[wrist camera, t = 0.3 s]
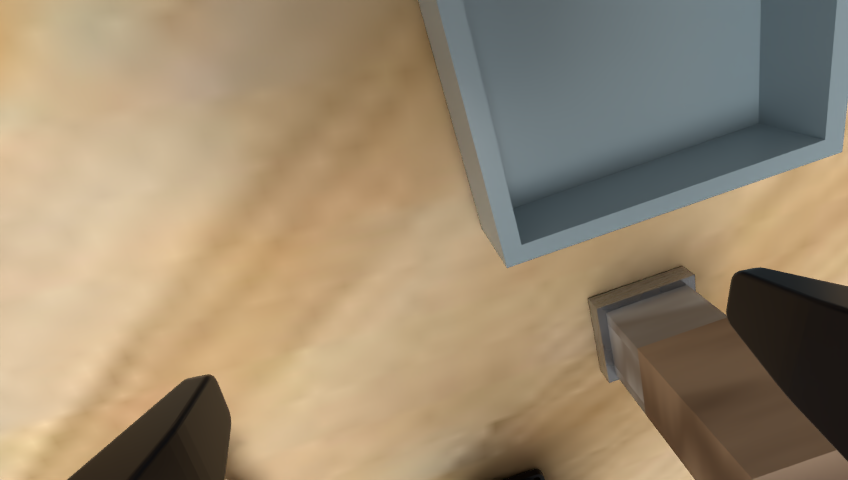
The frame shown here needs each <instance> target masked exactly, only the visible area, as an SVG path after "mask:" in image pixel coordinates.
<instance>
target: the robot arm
mask: <svg viewBox="0 0 848 480" xmlns="http://www.w3.org/2000/svg"><path fill="white" fill-rule="evenodd" d="M726 314H727V318H728V321H729V323H730V325H731V326H732V328H733V329H734V330H735V331H736V333H737V334H738V335H739V337H740V338H741V339H742V340H743V342H744V343H745V344H746V346H747V347H748V348H749V349H750V351H751V352H752V353H753V354H754V356H755V357H756V358H757V360H758V361H759V362H760V363H761V365H762V366H763V367H764V368H765V370H766V371H767V372H768V374H769V375H770V376H771V377H772V379H773V380H774V381H775V383H776V384H777V385H778V386H779V388H780V389H781V390H782V391H783V392H784V394H785V395H786V396H787V397H788V398H789V399H790V401H791V402H792V403H793V404H794V405H795V406H796V407H797V408H798V409H799V410H800V412H801V413H802V414H803V415H804V416H805V417H806V418H807V419H808V420H809V421H810V422H811V423H812V424H813V425H814V426H815V428H816V429H817V430H818V431H819V432H820V433H821V434H822V435H823V436H824V437H825V438H826V439H827V440H828V441H829V442H830V443H831V445H832V446H833V447H834V448H835V449H836V450H837V451H838V452H839V453H840V454H841V455H842V456H843V457H844V458H845V459H846V461H847V462H848V286H844V285H839V284H835V283H830V282H825V281H821V280H816V279H812V278H807V277H803V276H798V275H794V274H789V273H784V272H780V271H775V270H771V269H766V268H752V269H747V270H742V271H738V272H737V273H735V274H734V275H733V277H732V280H731V285H730V291H729V297H728V303H727V309H726ZM230 431H231V416H230V412H229V409H228V407H227V404H226V402H225V399H224V397H223V394H222V392H221V389H220V387H219V385H218V382H217V380H216V379H215V377H214V376H212V375H209V374H208V375H202V376H197V377H192V378H188V379H185V380H184V381H182V382H181V383H180V384H179V385H178V386H176V387H175V388H174V389H173V390H172V391H171V392H169V393H168V394H167V395H166V396H165V397H164V398H162V399H161V400H160V401H159V402H158V403H156V404H155V405H154V406H153V407H152V408H151V409H149V410H148V411H147V412H146V413H145V414H144V415H142V416H141V417H140V418H139V419H138V420H137V421H135V422H134V423H133V424H132V425H131V426H130V427H128V428H127V429H126V430H125V431H124V432H122V433H121V434H120V435H119V436H118V437H117V438H115V439H114V440H113V441H112V442H111V443H110V444H108V445H107V446H106V447H105V448H104V449H103V450H101V451H100V452H99V453H98V454H97V455H96V456H94V457H93V458H92V459H91V460H90V461H88V462H87V463H86V464H85V465H84V466H83V467H81V468H80V469H79V470H78V471H77V472H76V473H74V474H73V475H72V476H71V477H70V478H69V479H67V480H225V472H226V464H227V456H228V447H229V439H230ZM504 480H545V479H544V476H543V474H542V472H541V470H539V469H533V470H530V471H527V472H524V473H521V474H519V475H516V476H513V477H510V478H507V479H504Z"/></svg>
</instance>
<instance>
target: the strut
mask: <svg viewBox="0 0 848 480" xmlns="http://www.w3.org/2000/svg"><path fill="white" fill-rule="evenodd" d="M606 316H607V323H608V329H609V335H610V341H611V348H612V354H613V360H614V367H615V373H616V376H617V377H618V378H619V380H620V381H621V382H622V384H623V385H624V386H625V387H626V389H627V390H628V391H629V393H630V394H631V395H632V397H633V398H634V399H635V401H636V402H637V403H638V405H639V406H640V407H641V409H642V410H643V411H644V413H645V414H646V415H647V417H648V418H649V419H650V421H651V422H652V423H653V425H654V426H655V427H656V429H657V430H658V431H659V433H660V434H661V435H662V436H663V438H664V439H665V440H666V442H667V443H668V444H669V446H670V447H671V448H672V450H673V451H674V452H675V454H676V455H677V456H678V458H679V459H680V460H681V462H682V463H683V464H684V466H685V467H686V468H687V470H688V471H689V472H690V474H691V475H692V476H693V478H694V479H695V480H848V462H847V461H846V459H845V458H844V457H843V456H842V455H841V454H840V453H839V452H838V451H837V450H836V449H835V448H834V447H833V446H832V445H831V443H830V442H829V441H828V440H827V439H826V438H825V437H824V436H823V435H822V434H821V433H820V432H819V431H818V430H817V429H816V428H815V426H814V425H813V424H812V423H811V422H810V421H809V420H808V419H807V418H806V417H805V416H804V415H803V414H802V413H801V412H800V410H799V409H798V408H797V407H796V406H795V405H794V404H793V403H792V402H791V401H790V399H789V398H788V397H787V396H786V395H785V394H784V392H783V391H782V390H781V389H780V388H779V386H778V385H777V384H776V383H775V381H774V380H773V379H772V377H771V376H770V375H769V374H768V372H767V371H766V370H765V368H764V367H763V366H762V365H761V363H760V362H759V361H758V360H757V358H756V357H755V356H754V354H753V353H752V352H751V351H750V349H749V348H748V347H747V346H746V344H745V343H744V342H743V340H742V339H741V338H740V337H739V335H738V334H737V333H736V331H735V330H734V329H733V328H732V326H731V325H730V323H729V321H728V318H727V315H725V314H724V313H723V312H721V311H720V310H719V309H718V308H716V307H715V306H714V305H712V304H711V303H710V302H709V301H707V300H706V299H705V298H703V297H702V296H701V295H700V294H698V293H697V292H696V291H694V290H693V289H692V288H691V287H689V286H688V285H685V286H682V287H679V288H676V289H673V290H670V291H667V292H664V293H662V294H659V295H656V296H653V297H650V298H647V299H644V300H641V301H638V302H636V303H633V304H630V305H627V306H624V307H621V308H618V309H615V310H612V311H610V312H607V313H606Z"/></svg>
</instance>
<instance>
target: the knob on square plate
mask: <svg viewBox="0 0 848 480" xmlns="http://www.w3.org/2000/svg"><path fill="white" fill-rule="evenodd" d="M685 285H688V286H689V287H691V288H692V289H693V290H694V291H696V290H695V275H694V274H693V273H691V272H690V271H689V270H687V269H686V268H685V267H683V266H681V267H678V268H675V269H672V270H669V271H667V272H664V273H661V274H658V275H655V276H652V277H649V278H646V279H643V280H641V281H638V282H635V283H632V284H629V285H626V286H623V287H620V288H617V289H614V290H612V291H609V292H606V293H603V294H600V295H597V296H594V297H591V298H588V302H589V307H590V313H591V319H592V324H593V330H594V336H595V341H596V347H597V352H598V358H599V364H600V369H601V372H602V373H603V375H604V376H605V378H606V379H607V380H608V382H609V383H610V382H613V381H616V380H619V378H618V377H617V376H616V373H615V367H614V360H613V354H612V348H611V341H610V335H609V329H608V323H607V316H606V313H607V312H610V311H612V310H615V309H618V308H621V307H624V306H627V305H630V304H633V303H636V302H638V301H641V300H644V299H647V298H650V297H653V296H656V295H659V294H662V293H664V292H667V291H670V290H673V289H676V288H679V287H682V286H685Z"/></svg>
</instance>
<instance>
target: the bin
mask: <svg viewBox="0 0 848 480" xmlns="http://www.w3.org/2000/svg"><path fill="white" fill-rule="evenodd" d="M418 2H419V6H420V9H421V13H422V16H423V20H424V24H425V27H426V31H427V34H428V38H429V41H430V45H431V49H432V52H433V56H434V59H435V63H436V66H437V70H438V74H439V77H440V81H441V84H442V88H443V91H444V95H445V99H446V102H447V106H448V109H449V113H450V116H451V120H452V124H453V127H454V131H455V134H456V138H457V141H458V145H459V149H460V152H461V156H462V159H463V163H464V166H465V170H466V174H467V177H468V181H469V184H470V188H471V191H472V195H473V199H474V202H475V206H476V209H477V213H478V216H479V220H480V224H481V227H482V230H483V231H484V233H485V234H486V236H487V238H488V239H489V241H490V242H491V244H492V245H493V247H494V249H495V250H496V252H497V253H498V255H499V256H500V258H501V259H502V261H503V263H504V264H505V266H506V267H507V268H508V267H511V266H514V265H517V264H520V263H523V262H526V261H529V260H532V259H534V258H537V257H540V256H543V255H546V254H549V253H552V252H555V251H558V250H560V249H563V248H566V247H569V246H572V245H575V244H578V243H581V242H584V241H586V240H589V239H592V238H595V237H598V236H601V235H604V234H607V233H610V232H612V231H615V230H618V229H621V228H624V227H627V226H630V225H633V224H636V223H638V222H641V221H644V220H647V219H650V218H653V217H656V216H659V215H662V214H664V213H667V212H670V211H673V210H676V209H679V208H682V207H685V206H687V205H690V204H693V203H696V202H699V201H702V200H705V199H708V198H711V197H713V196H716V195H719V194H722V193H725V192H728V191H731V190H734V189H737V188H739V187H742V186H745V185H748V184H751V183H754V182H757V181H760V180H763V179H765V178H768V177H771V176H774V175H777V174H780V173H783V172H786V171H789V170H791V169H794V168H797V167H800V166H803V165H806V164H809V163H812V162H815V161H817V160H820V159H823V158H826V157H829V156H832V155H835V154H838V153H841V152H842V149H843V139H844V130H845V120H846V111H847V101H848V0H418Z"/></svg>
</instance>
